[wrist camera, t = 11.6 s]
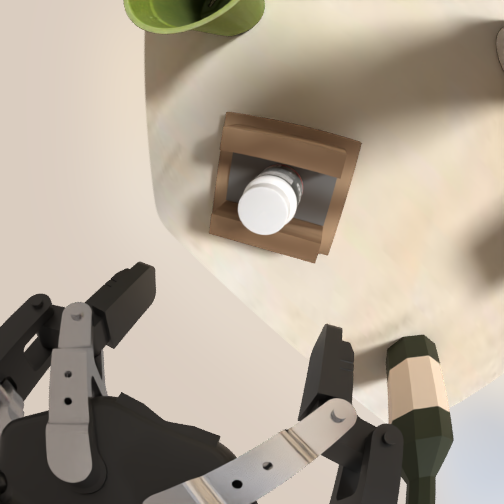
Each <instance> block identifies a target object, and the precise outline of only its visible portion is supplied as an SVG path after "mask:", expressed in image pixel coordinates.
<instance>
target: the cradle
mask: <svg viewBox="0 0 504 504" xmlns="http://www.w3.org/2000/svg"><path fill="white" fill-rule="evenodd" d="M361 144H362V143H361V142H359V141H356V140H353V139H349V138H346V137H342V136H339V135H335V134H332V133H328V132H324V131H321V130H317V129H313V128H309V127H305V126H301V125H296V124H292V123H287V122H283V121H278V120H273V119H268V118H263V117H257V116H252V115H246V114H240V113H234V112H226V117H225V124H224V126H223V131H222V138H221V145H220V150H221V151H220V158H219V165H218V172H217V180H216V187H215V195H214V203H213V212H212V214H211V222H210V231H209V233H210V234H213V235H217V236H220V237H224V238H227V239H231V240H234V241H238V242H241V243H245V244H248V245H252V246H255V247H259V248H263V249H266V250H270V251H273V252H277V253H280V254H283V255H287V256H290V257H294V258H297V259H301V260H304V261H308V262H311V263H315V261H316V258H317V255H318V253H321V254H324V255H328V253H329V251H330V248H331V245H332V242H333V239H334V236H335V233H336V229H337V226H338V223H339V220H340V217H341V214H342V211H343V207H344V204H345V201H346V197H347V194H348V191H349V187H350V184H351V180H352V177H353V173H354V170H355V166H356V162H357V159H358V155H359V151H360V147H361ZM277 164H281V165H286V166H289V167H291V168H292V169H294V170H295V171H296V172H297V173H298V174H299V175H300V177H301V179H302V182H303V194H302V196H301V199H300V202H299V205H298V207H297V210H296V213H295V215H294V217H293V218H292V219H291V220H290V221H289V222H288V223H287V224H286V225H284V226H283V228H282V229H280V230H279V231H278V232H276V233H274V234H270V235H260V234H256V233H254V232H252V231H250V230H249V229H247V228H246V227H245V226H244V225H243V223H242V222H241V220H240V218H239V214H238V203H239V200H240V198H241V197H242V195H243V193H244V190H245V188H246V187H247V185H248V184H249V183H250V182H251V181H252V180H253V179H255V178H256V177H257V176H258V175H259V174H260V173H262V172H263V171H264V170H265V169H266V168H268V167H270V166H272V165H277Z"/></svg>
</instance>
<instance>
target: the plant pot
mask: <svg viewBox="0 0 504 504" xmlns="http://www.w3.org/2000/svg"><path fill="white" fill-rule="evenodd" d="M211 1H212V0H124V7H125V11H126V13H127V15H128V17H129V18H130V20H131V21H132V22H133V23H134V24H135V25H136V26H138V27H139V28H141V29H143V30H145V31H148V32H152V33H157V34H174V33H180V32H185V31H189V30H195V31H201V32H206V33H212V34H217V35H222V36H233V35H237V34H240V33H243V32H245V31H248V30H249V29H251V28H252V27H253V26H255V25H256V24H257V23H258V22H259V20H260V19H261V17H262V15H263V13H264V8H265V2H264V0H216V1H215V2H214V4H213V5H212V6H211V7H209V4H210V2H211Z"/></svg>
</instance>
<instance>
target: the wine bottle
mask: <svg viewBox="0 0 504 504" xmlns="http://www.w3.org/2000/svg"><path fill="white" fill-rule="evenodd" d="M386 371H387V387H388V413H389V424H392V425H394V426H396V427H397V428H398V429H399V430H400V431H401V433H402V435H403V440H404V443H403V458H402V469H401V477H402V478H403V480H404V481H405V482H406V484H407V491H406V504H435V477H436V475H437V473H438V471H439V469H440V467H441V466H442V463H443V462H444V459H445V458H446V456H447V454H448V451H449V449H450V447H451V445H452V443H453V432H452V424H451V417H450V411H449V405H448V399H447V394H446V389H445V384H444V379H443V375H442V370H441V366H440V362H439V358H438V354H437V350H436V346H435V343H433V342H432V341H431V340H430V339H428V338H427V337H426V336H425V335H417V336H408V337H403V338H401V339H400V340H399V341H398V342H396V343H395V344H394V345H392V346H391V347H390V348H388V350H387V358H386Z"/></svg>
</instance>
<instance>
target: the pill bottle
mask: <svg viewBox="0 0 504 504" xmlns="http://www.w3.org/2000/svg"><path fill="white" fill-rule="evenodd" d="M302 194H303V182H302V179H301V177H300V175H299V174H298V173H297V172H296V171H295V170H294V169H292V168H291V167H289V166H286V165H281V164H277V165H272V166H270V167H268V168H266V169H265V170H264V171H263V172H262V173H260V174H259V175H258V176H257V177H256V178H255V179H253V180H252V181H251V182H250V183H249V184H248V185H247V187H246V188H245V190H244V193H243V195H242V197H241V198H240V200H239V203H238V214H239V218H240V220H241V222H242V223H243V225H244V226H245V227H246V228H247V229H249V230H250V231H252V232H254V233H256V234H260V235H270V234H274V233H276V232H278V231H279V230H280V229H282V228H283V226H284V225H286V224H287V223H288V222H289V221H290V220H291V219H292V218H293V217H294V215H295V213H296V210H297V207H298V205H299V202H300V199H301V196H302Z"/></svg>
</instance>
